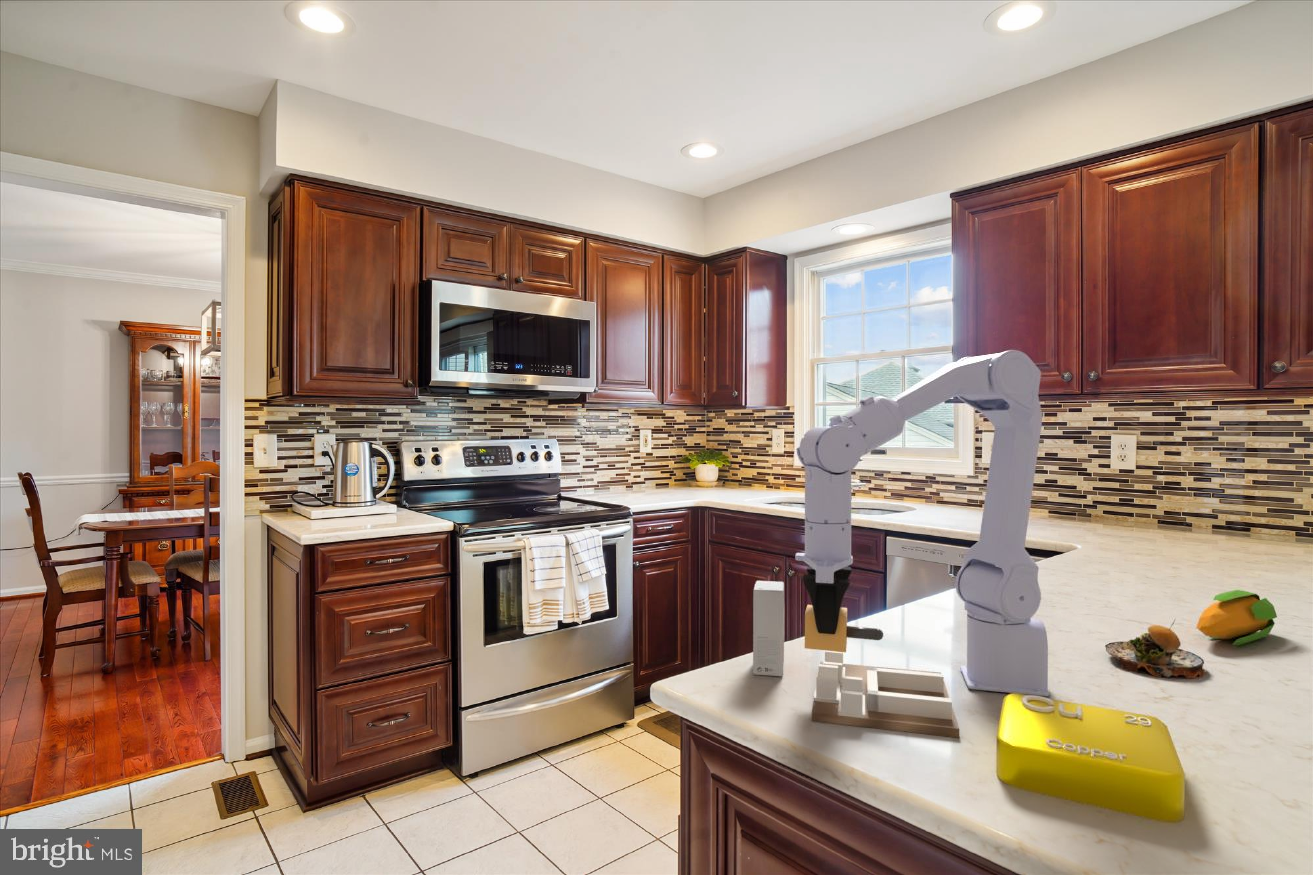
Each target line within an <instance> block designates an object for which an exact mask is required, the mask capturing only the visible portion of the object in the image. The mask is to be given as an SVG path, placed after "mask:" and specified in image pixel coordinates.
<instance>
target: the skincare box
mask: <svg viewBox="0 0 1313 875" xmlns="http://www.w3.org/2000/svg"><path fill="white" fill-rule="evenodd" d="M752 596H753V599H752V602H753V603H752V606H753V607H752V608H753V613H752V616H753V621H752V622H753V625H752V626H753V628H752V630H753V631H752V632H753V634H752V638H753V639H752V642H753V644H752V647H753V648H752V650H753V651H752V674H753V675H757V676H770V677H773V676H774V677H783V676H784V662H785V660H784V658H785V583H784V581H772V580H771V581H770V580H756V581H755V584H754V587H753V595H752Z"/></svg>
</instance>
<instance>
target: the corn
mask: <svg viewBox="0 0 1313 875" xmlns="http://www.w3.org/2000/svg"><path fill="white" fill-rule="evenodd" d="M1213 601H1216V602H1213V603H1212V604H1211V605H1209V606H1208V607H1206V608H1205V609H1203V612H1202V613H1201V615H1200V616H1199V618H1198V622H1197V624H1196V629H1198V630H1199V631H1200V632H1201V633H1202V634H1204V635H1205V636H1206V637H1210V638H1212V639H1215V640H1221V639H1225V640H1230V639H1235V638H1238V637H1239V638H1238V639H1235V641H1233V643H1231V645H1232V646H1236V647H1237V646H1238V647H1239V646H1242V645H1245V644H1248V643H1251V642H1255V641H1257V640H1260V639H1263V638H1266V637H1268V636H1269V634H1270V633H1271V631H1272V629H1273V628H1274V626H1275V624H1276V623H1275V621H1274V619H1276V618H1278V615H1277V611H1276V609H1275V607H1274V605H1273V604H1272V603H1271V602H1270V600H1268V599H1267V598H1266V597H1264V598H1262V599H1261V598H1260V595H1258V594H1257V593H1255V592H1251V591H1250V592H1249V591H1246V590H1240V589H1236V590H1235V589H1234V590H1229V591H1227V592H1226V591H1225V592H1221V593H1219V594H1216V595H1214V597H1213ZM1242 636H1243V637H1242ZM1231 645H1230V646H1231Z"/></svg>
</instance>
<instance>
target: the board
mask: <svg viewBox="0 0 1313 875" xmlns="http://www.w3.org/2000/svg"><path fill="white" fill-rule="evenodd" d="M819 664H823V661H820V663H819ZM843 667H845V676H849V677H859V678H862V695H865V718H857V717H849V716H840V715H838V708H839V704H838V703H829V702H819V701H814V700H813V703H812V709H811V722H819V723H827V724H829V723H830V724H837V725H844V726H852V727H853V726H855V727H863V728H870V729H880V730H886V731H887V730H889V731H896V732H897V731H898V732H904V731H906V732H905V733H907V732H908V733H915V734H924V735H932V736H941V737H947V738H948V737H950V738H958V739H959V738H960V726H959V723H958V720H957V717H956V714H955V710H954V708H953V707H952V720H949V719H940V718H931V717H922V716H912V715H903V714H894V713H885V712H875V711H868V704H867V667H874V668H885V669H896V670H907V671H918V672H929V673H940V674H942V672H939V671H938V672H937V671H929V670H928V671H926V670H919V669H918V670H915V669H904V668H893V667H884V666H883V667H882V666H872V665H860V664H850V663H843ZM817 673H818V674H817V677H819V671H818V672H817ZM841 690H842V686H840V693H841ZM878 691H882V692H892V693H902V694H912V695H922V696H932V697H942V698H950V696H949V693H948V690H947V687H946V684H945V682H944V693H940V692H929V691H919V690H909V689H899V688H889V687H879V686H878Z"/></svg>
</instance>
